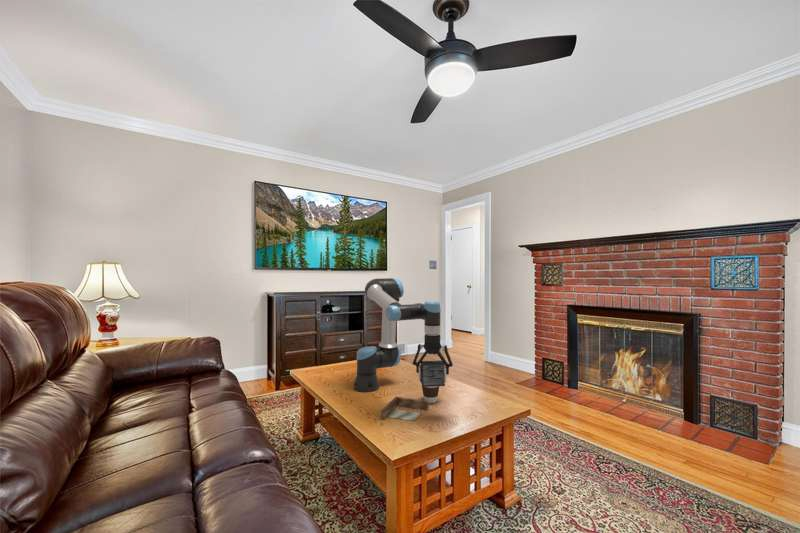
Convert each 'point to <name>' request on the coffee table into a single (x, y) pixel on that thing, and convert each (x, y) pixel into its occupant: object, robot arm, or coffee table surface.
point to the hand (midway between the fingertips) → (432, 380)
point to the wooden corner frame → (401, 413)
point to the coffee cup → (430, 393)
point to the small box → (432, 373)
